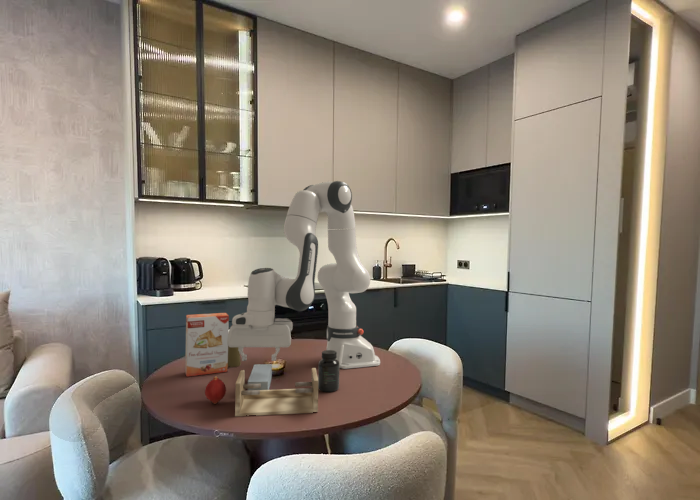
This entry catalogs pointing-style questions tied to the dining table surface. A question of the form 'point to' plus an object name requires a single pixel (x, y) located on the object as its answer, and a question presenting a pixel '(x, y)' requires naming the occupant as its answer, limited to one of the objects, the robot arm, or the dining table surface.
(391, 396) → the dining table surface
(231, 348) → the olive double rounded piece
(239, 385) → the tray
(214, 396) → the red round piece
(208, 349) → the cracker box
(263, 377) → the light grey rectangular block
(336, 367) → the supplement bottle
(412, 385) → the dining table surface
